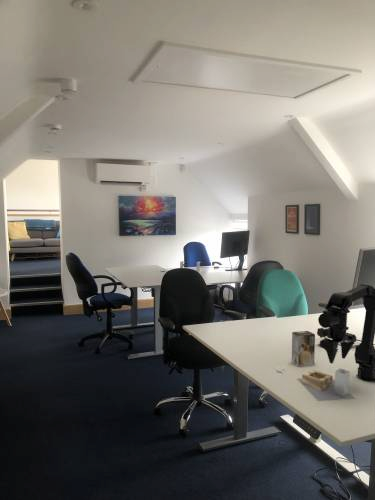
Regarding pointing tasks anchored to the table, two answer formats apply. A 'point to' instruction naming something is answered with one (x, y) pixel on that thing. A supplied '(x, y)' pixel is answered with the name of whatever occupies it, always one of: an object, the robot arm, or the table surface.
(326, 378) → the wooden square frame
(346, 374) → the steel pin
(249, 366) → the table surface
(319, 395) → the rubber mat
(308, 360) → the coffee box
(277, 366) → the pliers
